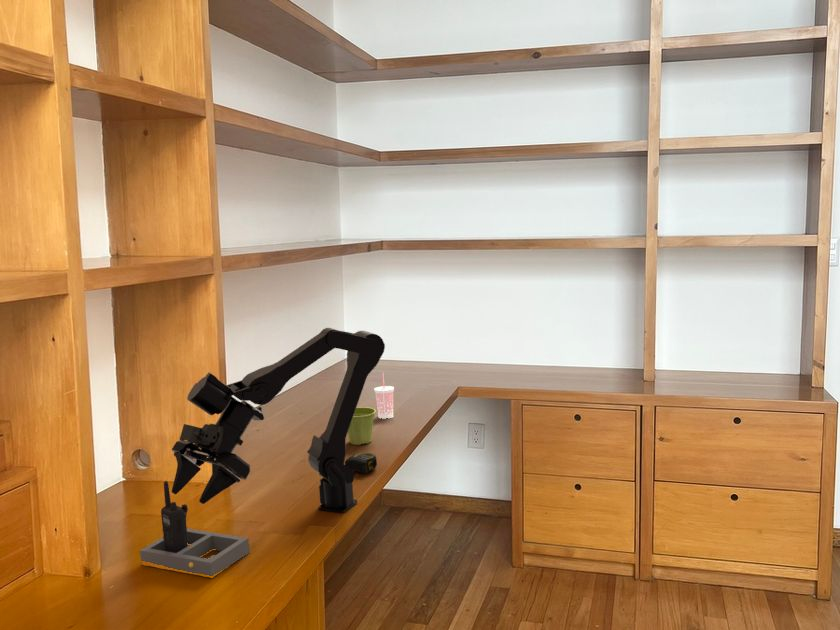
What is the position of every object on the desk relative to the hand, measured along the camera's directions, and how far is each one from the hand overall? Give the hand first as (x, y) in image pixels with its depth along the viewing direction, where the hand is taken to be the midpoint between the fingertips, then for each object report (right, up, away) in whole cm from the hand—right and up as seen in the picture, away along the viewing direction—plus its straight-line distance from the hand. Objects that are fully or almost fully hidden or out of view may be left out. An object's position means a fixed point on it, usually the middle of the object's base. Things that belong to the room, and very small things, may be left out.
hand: (187, 498), depth 150 cm
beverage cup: (+34, +4, +91) cm, 97 cm away
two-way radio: (-1, -11, -1) cm, 11 cm away
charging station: (+2, -11, -2) cm, 12 cm away
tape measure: (+31, -4, +42) cm, 52 cm away
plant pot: (+28, 0, +66) cm, 72 cm away
